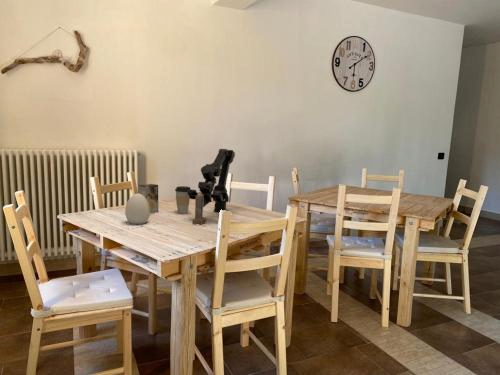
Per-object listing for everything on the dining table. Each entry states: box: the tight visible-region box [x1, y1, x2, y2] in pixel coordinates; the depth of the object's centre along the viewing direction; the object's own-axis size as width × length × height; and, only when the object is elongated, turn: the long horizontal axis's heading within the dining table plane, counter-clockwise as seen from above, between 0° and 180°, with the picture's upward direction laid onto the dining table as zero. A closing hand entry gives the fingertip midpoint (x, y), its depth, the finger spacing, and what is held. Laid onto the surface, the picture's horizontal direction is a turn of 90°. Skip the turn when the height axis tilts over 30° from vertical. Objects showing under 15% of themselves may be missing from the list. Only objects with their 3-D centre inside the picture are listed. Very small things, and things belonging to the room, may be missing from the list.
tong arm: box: [198, 194, 204, 218], centre depth 198 cm, size 1×3×12 cm, turn 74°
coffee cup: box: [174, 186, 191, 215], centre depth 221 cm, size 9×9×15 cm
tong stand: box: [192, 196, 208, 226], centre depth 198 cm, size 7×5×15 cm
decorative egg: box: [124, 193, 151, 225], centre depth 194 cm, size 12×12×15 cm
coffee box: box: [138, 183, 159, 214], centre depth 218 cm, size 9×6×16 cm
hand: (200, 208), depth 199 cm, fingers closed, pressing on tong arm
